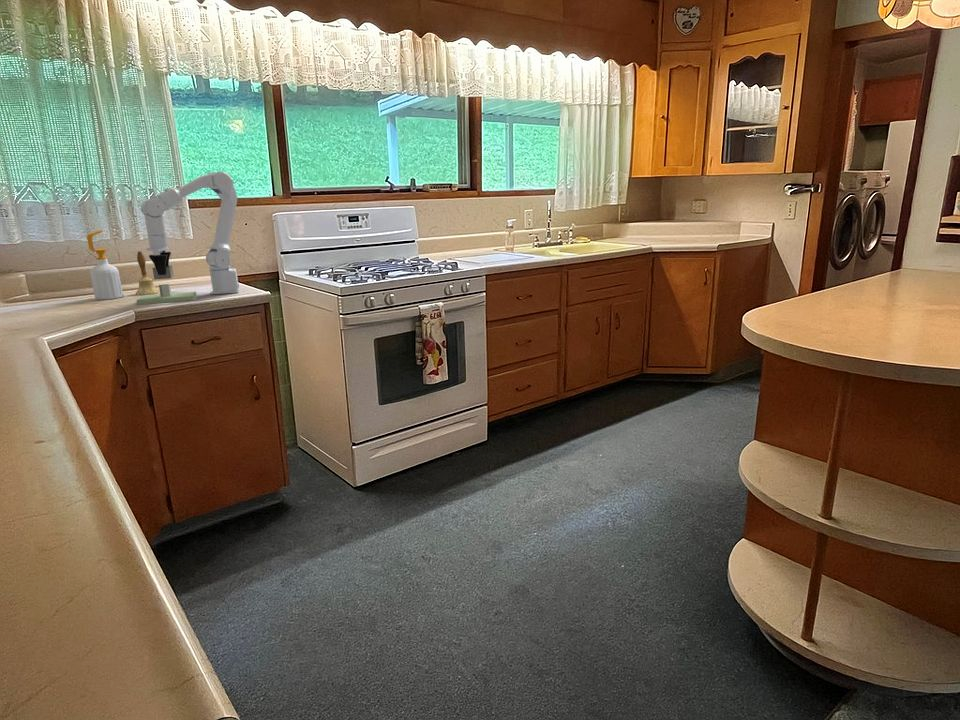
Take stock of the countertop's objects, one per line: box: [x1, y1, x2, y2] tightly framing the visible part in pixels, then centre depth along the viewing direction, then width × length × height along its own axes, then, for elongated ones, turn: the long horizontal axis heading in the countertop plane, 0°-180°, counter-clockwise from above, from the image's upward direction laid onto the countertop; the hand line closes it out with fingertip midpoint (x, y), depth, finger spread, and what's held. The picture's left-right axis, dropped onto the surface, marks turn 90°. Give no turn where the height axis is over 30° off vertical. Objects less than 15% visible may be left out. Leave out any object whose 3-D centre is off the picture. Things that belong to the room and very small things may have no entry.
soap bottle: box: [86, 229, 124, 301], centre depth 224 cm, size 9×9×25 cm
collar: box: [152, 264, 175, 280], centre depth 217 cm, size 5×5×4 cm
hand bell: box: [135, 251, 160, 296], centre depth 233 cm, size 8×8×16 cm
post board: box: [136, 283, 198, 305], centre depth 219 cm, size 18×10×6 cm, turn 108°
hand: (163, 273), depth 217 cm, fingers closed on collar, 5 cm apart
